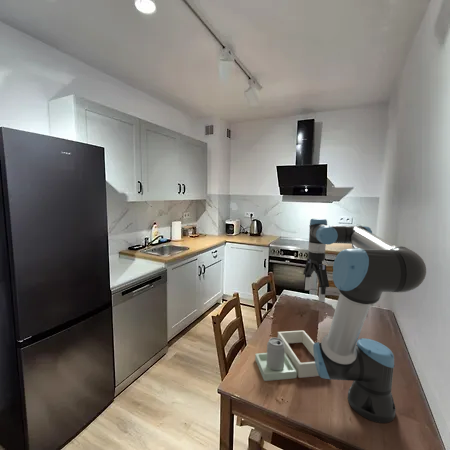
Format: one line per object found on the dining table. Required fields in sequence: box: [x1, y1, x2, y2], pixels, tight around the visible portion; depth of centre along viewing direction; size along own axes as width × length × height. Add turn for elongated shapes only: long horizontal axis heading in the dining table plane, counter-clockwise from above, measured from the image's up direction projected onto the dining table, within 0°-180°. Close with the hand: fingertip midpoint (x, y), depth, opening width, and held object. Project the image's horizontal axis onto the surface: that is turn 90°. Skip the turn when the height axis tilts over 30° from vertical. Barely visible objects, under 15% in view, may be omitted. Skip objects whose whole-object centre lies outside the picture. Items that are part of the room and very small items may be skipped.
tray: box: [254, 352, 298, 382], centre depth 114 cm, size 14×14×3 cm
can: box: [266, 337, 285, 371], centre depth 113 cm, size 8×8×12 cm
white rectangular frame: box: [277, 330, 320, 378], centre depth 122 cm, size 26×14×6 cm, turn 8°
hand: (314, 295), depth 124 cm, fingers open, 13 cm apart
